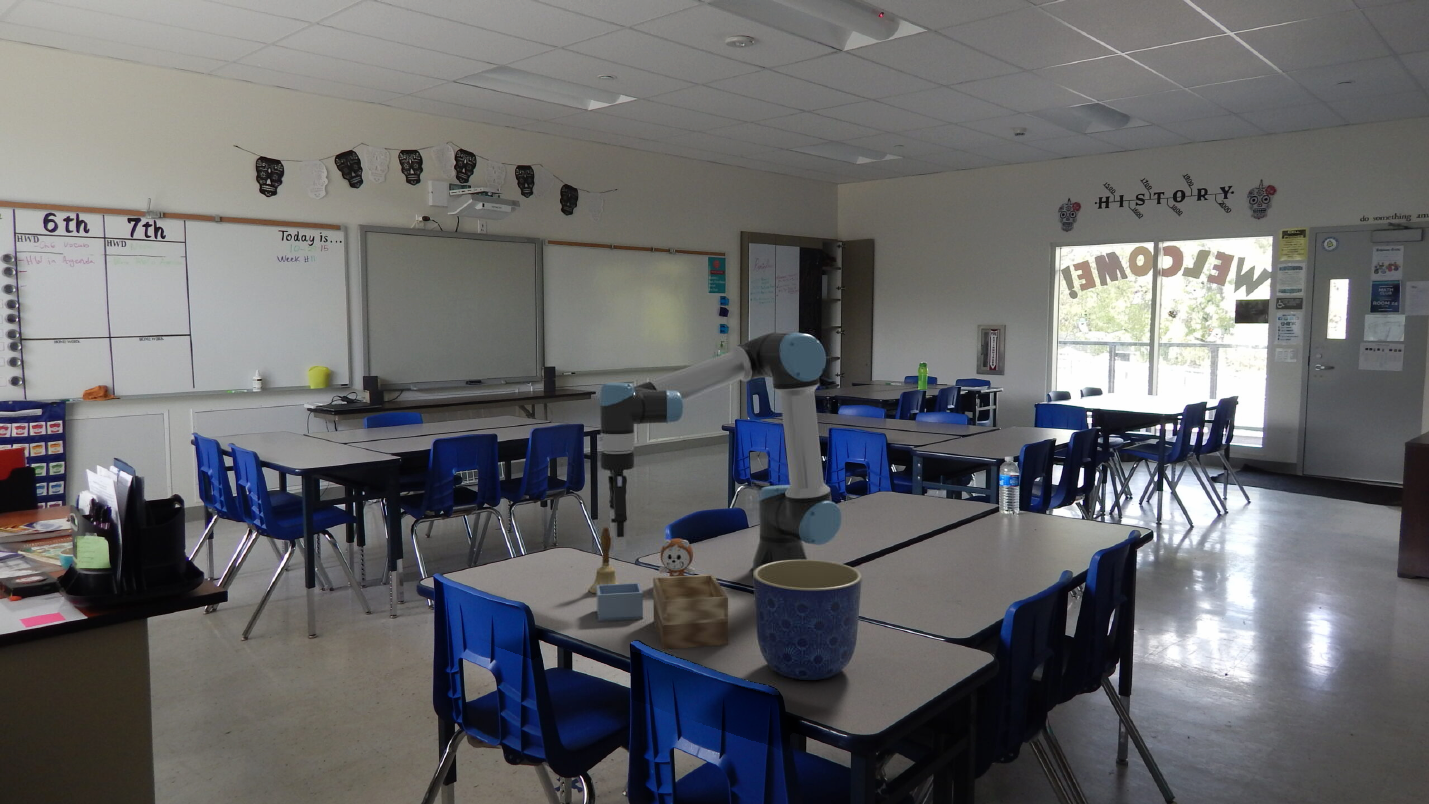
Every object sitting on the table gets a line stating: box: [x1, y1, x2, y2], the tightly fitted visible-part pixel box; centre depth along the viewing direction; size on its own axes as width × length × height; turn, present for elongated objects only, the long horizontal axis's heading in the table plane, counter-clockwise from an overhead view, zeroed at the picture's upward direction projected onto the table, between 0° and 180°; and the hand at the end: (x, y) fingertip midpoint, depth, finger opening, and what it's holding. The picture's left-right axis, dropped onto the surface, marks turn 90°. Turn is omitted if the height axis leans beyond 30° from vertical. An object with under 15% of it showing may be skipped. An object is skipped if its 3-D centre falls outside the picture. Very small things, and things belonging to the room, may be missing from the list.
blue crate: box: [596, 582, 644, 622], centre depth 204 cm, size 10×8×6 cm
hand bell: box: [588, 526, 619, 595], centre depth 223 cm, size 8×8×16 cm
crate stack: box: [652, 574, 729, 650], centre depth 192 cm, size 14×18×10 cm
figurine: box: [658, 537, 696, 577], centre depth 227 cm, size 9×9×12 cm
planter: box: [752, 559, 863, 681], centre depth 171 cm, size 21×21×19 cm
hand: (618, 543), depth 203 cm, fingers open, 13 cm apart
